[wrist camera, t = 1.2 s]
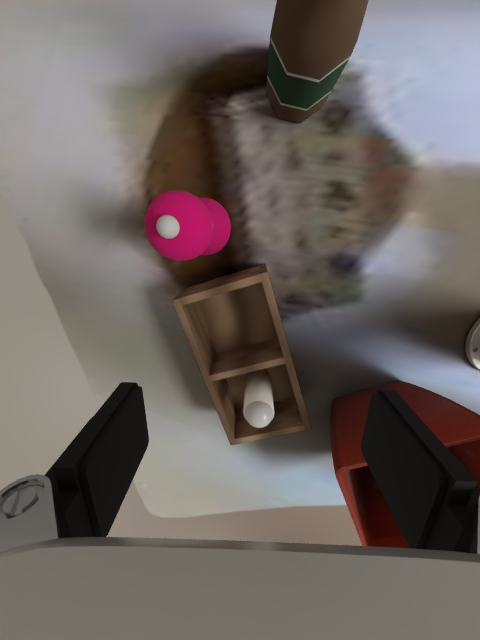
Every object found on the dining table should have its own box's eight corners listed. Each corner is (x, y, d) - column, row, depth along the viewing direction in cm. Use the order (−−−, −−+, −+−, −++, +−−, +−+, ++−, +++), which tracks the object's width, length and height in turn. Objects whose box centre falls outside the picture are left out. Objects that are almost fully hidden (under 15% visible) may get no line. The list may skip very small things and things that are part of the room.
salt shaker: (266, 364, 44) (270, 406, 34) (273, 385, 46) (279, 432, 35) (242, 370, 45) (238, 413, 35) (249, 391, 46) (248, 438, 36)
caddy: (265, 263, 40) (267, 271, 32) (302, 396, 47) (311, 428, 40) (186, 287, 42) (171, 300, 34) (234, 412, 49) (230, 445, 42)
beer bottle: (330, 118, 33) (489, -114, 11) (270, 132, 34) (298, -55, 12) (326, 40, 31) (520, -476, 8) (260, 58, 32) (273, -367, 9)
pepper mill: (186, 197, 37) (115, 166, 18) (236, 203, 37) (215, 179, 18) (183, 249, 40) (119, 268, 21) (230, 255, 40) (208, 280, 21)
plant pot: (307, 389, 47) (334, 472, 31) (418, 356, 43) (512, 430, 28) (335, 465, 52) (370, 569, 36) (436, 441, 49) (522, 544, 33)
